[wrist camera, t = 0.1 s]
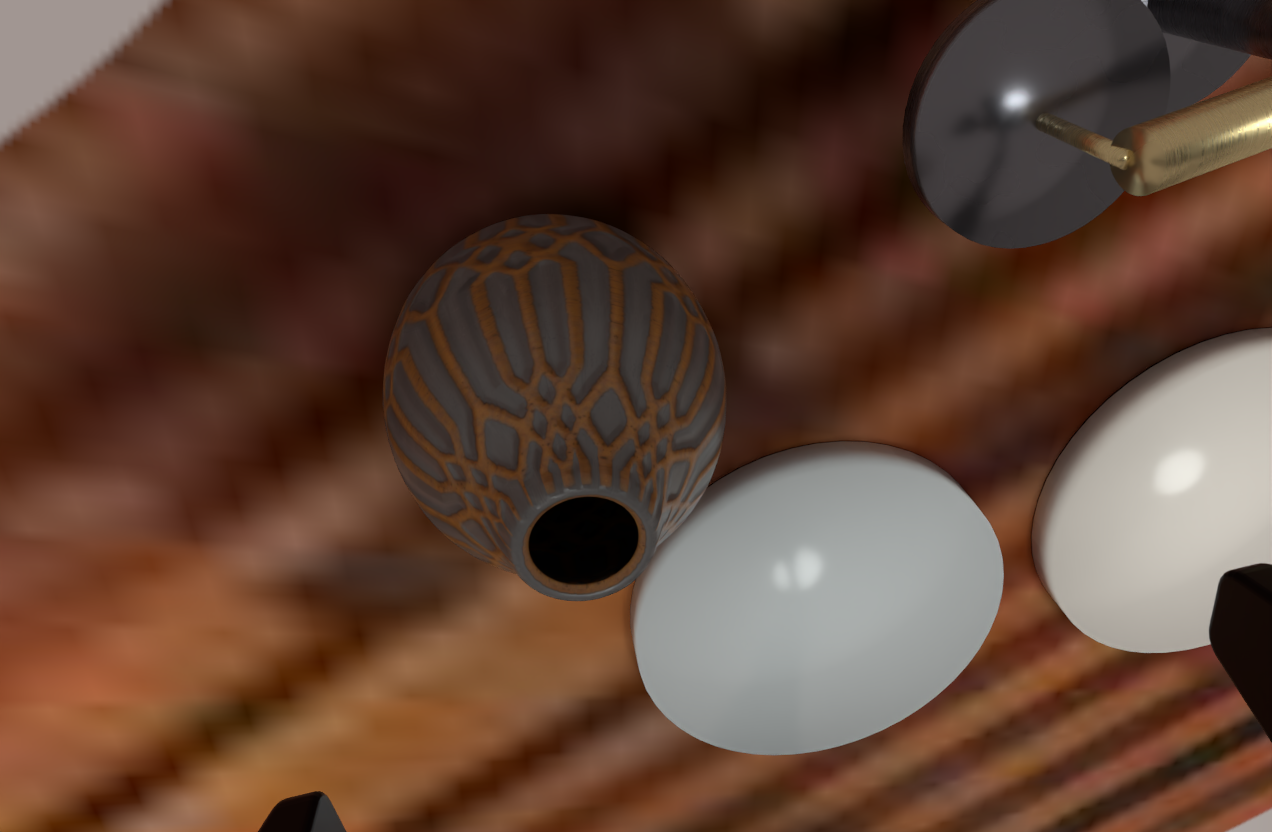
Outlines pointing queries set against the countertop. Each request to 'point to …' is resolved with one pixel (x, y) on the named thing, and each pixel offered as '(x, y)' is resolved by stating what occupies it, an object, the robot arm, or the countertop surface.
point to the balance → (1079, 109)
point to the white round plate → (815, 599)
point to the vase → (555, 401)
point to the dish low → (1162, 497)
